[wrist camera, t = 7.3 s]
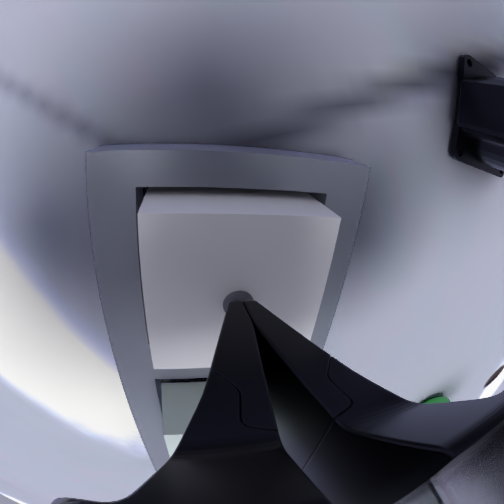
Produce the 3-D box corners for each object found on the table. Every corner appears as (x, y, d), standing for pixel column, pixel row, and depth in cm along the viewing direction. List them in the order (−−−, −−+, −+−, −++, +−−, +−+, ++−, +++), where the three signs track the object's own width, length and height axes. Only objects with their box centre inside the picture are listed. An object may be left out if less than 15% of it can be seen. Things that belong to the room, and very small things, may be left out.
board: (345, 158, 12) (370, 167, 10) (265, 460, 24) (270, 476, 22) (101, 145, 10) (85, 152, 8) (161, 469, 21) (163, 486, 20)
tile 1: (305, 191, 12) (342, 218, 9) (283, 314, 14) (305, 359, 11) (148, 186, 10) (137, 214, 7) (155, 319, 13) (153, 371, 10)
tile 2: (280, 374, 14) (300, 422, 12) (265, 430, 17) (277, 469, 14) (161, 382, 13) (163, 436, 10) (172, 438, 15) (177, 480, 13)
